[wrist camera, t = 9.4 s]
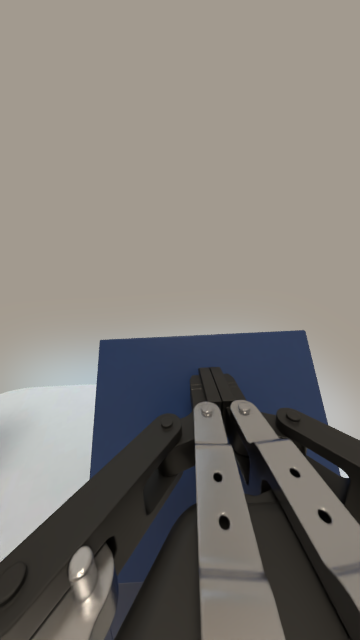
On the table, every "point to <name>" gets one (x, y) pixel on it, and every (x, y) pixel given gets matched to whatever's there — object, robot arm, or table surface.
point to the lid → (174, 397)
